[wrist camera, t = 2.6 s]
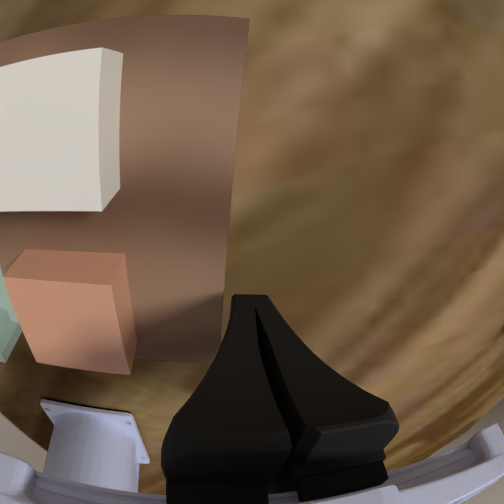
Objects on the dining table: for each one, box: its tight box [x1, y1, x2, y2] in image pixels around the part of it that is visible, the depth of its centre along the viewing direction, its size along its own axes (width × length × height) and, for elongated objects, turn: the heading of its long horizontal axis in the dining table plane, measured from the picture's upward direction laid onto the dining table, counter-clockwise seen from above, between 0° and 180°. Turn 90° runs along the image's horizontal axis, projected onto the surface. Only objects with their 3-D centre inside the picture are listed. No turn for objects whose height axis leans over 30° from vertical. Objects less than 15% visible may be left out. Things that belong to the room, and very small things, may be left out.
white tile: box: [0, 47, 123, 212], centre depth 8 cm, size 4×4×2 cm
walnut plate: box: [0, 15, 250, 363], centre depth 11 cm, size 14×10×2 cm
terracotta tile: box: [3, 249, 137, 375], centre depth 11 cm, size 4×4×2 cm
